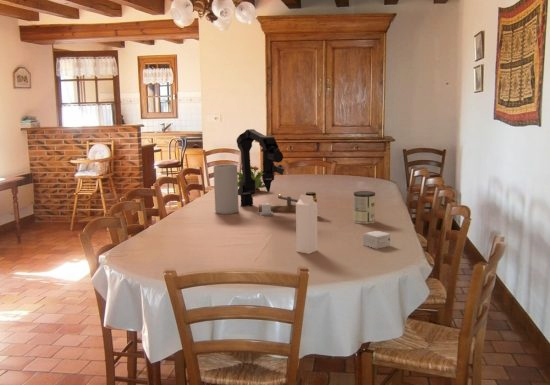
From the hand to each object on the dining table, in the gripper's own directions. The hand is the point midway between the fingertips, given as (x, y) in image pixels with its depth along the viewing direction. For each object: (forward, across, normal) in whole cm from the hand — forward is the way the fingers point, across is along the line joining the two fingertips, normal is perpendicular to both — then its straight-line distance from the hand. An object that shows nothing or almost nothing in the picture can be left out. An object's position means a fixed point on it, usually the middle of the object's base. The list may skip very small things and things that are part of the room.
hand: (268, 190), depth 283 cm
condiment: (+12, -12, -21) cm, 27 cm away
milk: (+11, -78, -15) cm, 80 cm away
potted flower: (+13, +71, +11) cm, 73 cm away
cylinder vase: (+12, +2, +22) cm, 26 cm away
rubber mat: (+12, -5, +1) cm, 13 cm away
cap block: (+12, -5, +1) cm, 13 cm away
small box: (+11, -71, -44) cm, 84 cm away
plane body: (+12, +4, -4) cm, 13 cm away
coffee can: (+11, -27, -46) cm, 55 cm away
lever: (+6, +4, -11) cm, 13 cm away
